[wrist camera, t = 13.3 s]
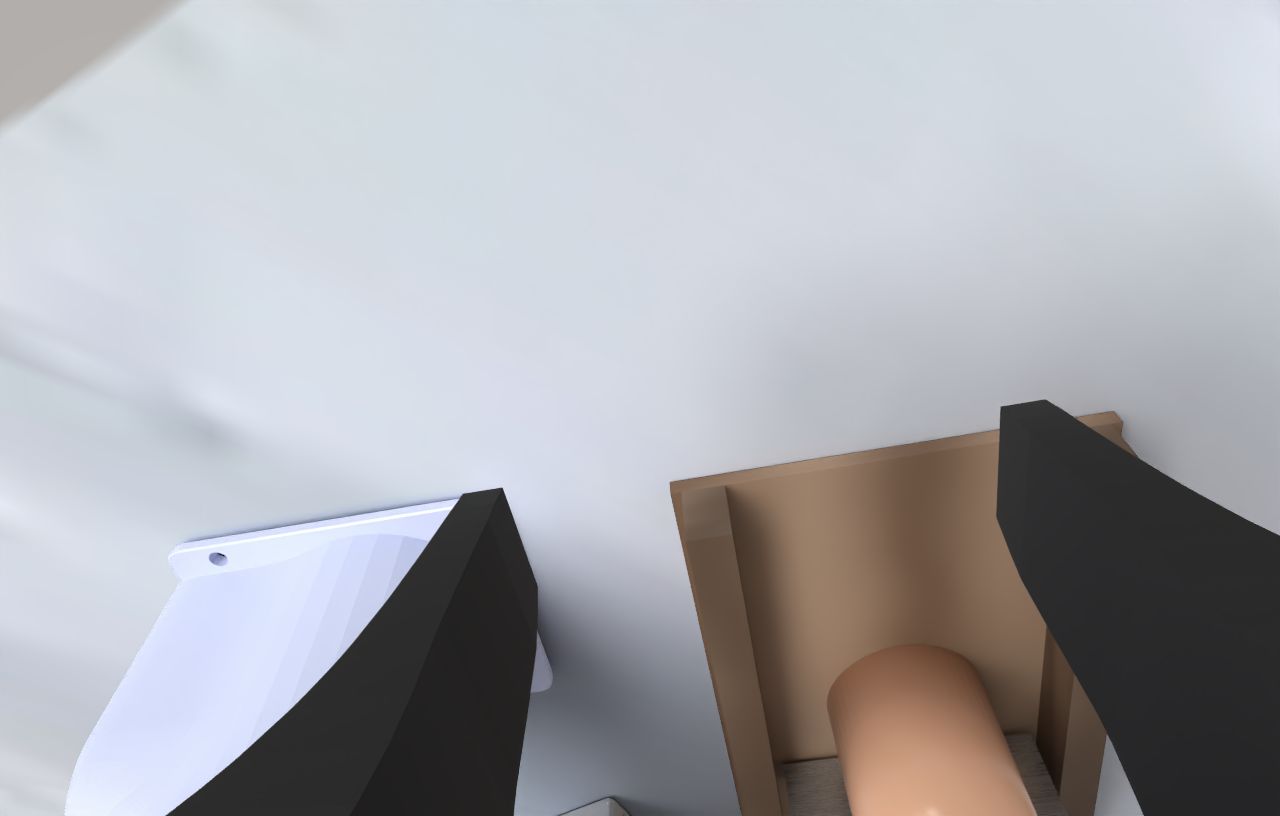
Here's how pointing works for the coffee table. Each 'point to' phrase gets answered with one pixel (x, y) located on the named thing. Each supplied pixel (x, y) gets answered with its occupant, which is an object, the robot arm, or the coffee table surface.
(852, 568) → the pusher lane
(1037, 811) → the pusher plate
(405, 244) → the coffee table surface
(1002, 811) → the jar
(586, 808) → the coffee box
